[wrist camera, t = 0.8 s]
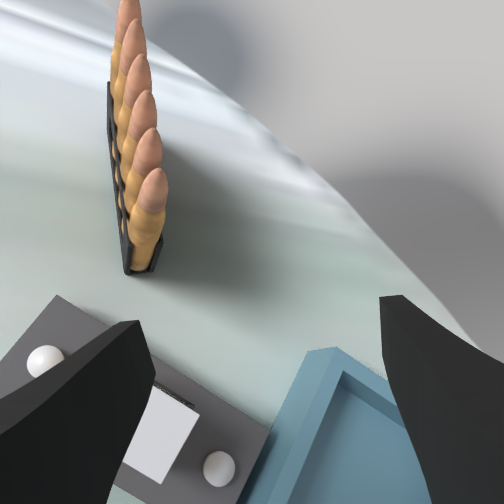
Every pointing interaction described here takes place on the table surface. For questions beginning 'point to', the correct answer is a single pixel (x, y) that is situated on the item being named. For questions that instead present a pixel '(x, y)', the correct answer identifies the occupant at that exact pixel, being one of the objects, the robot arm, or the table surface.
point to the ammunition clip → (135, 145)
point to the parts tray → (337, 441)
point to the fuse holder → (197, 398)
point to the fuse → (159, 435)
